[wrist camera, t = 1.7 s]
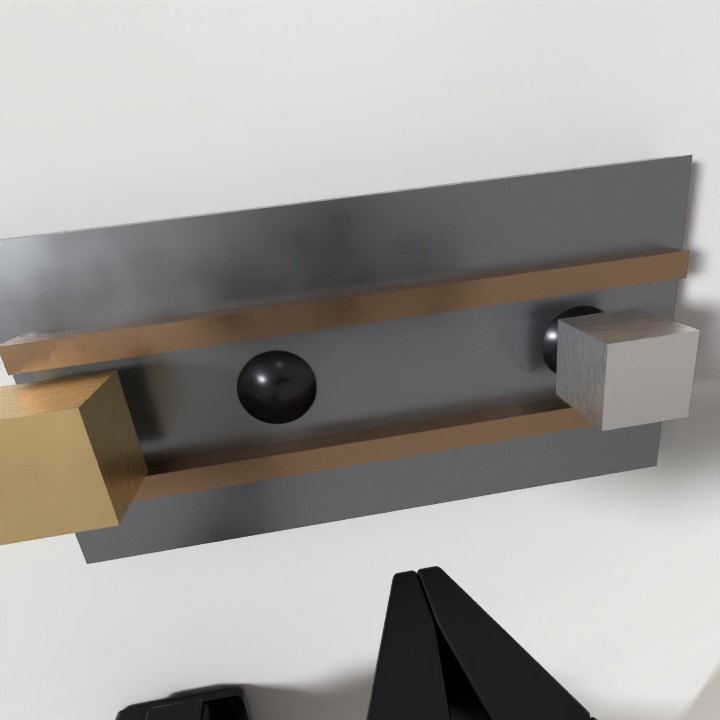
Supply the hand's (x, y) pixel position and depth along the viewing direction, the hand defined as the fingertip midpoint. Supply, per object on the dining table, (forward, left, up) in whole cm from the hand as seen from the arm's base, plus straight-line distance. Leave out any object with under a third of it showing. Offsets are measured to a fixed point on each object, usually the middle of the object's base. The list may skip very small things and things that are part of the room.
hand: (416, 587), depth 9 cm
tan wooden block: (0, +10, -10) cm, 14 cm away
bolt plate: (0, -1, -12) cm, 12 cm away
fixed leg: (0, -9, -11) cm, 14 cm away
